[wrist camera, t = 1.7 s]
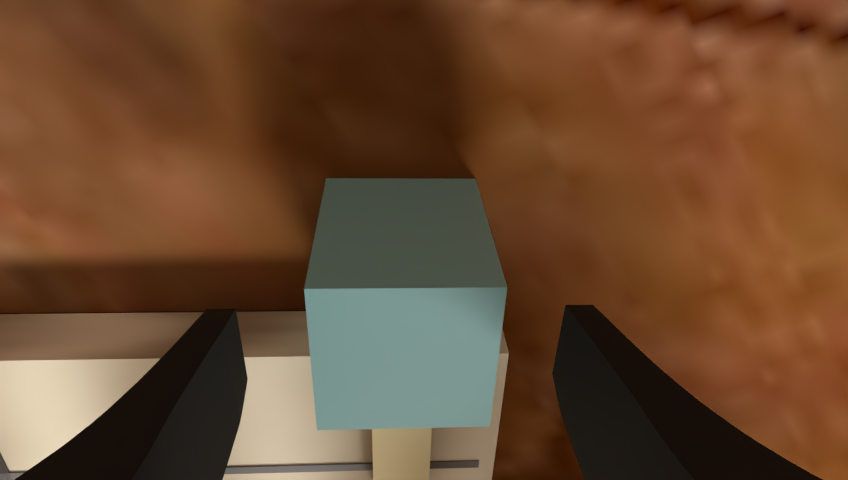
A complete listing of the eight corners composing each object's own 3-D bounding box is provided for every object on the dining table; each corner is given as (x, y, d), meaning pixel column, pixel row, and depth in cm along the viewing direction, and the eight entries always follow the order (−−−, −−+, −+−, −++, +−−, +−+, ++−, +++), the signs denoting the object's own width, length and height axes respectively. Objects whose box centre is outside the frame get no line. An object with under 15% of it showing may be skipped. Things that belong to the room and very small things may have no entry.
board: (497, 309, 18) (509, 354, 17) (475, 494, 23) (483, 545, 21) (-155, 315, 17) (-217, 365, 16) (-39, 509, 22) (-77, 565, 20)
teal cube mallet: (475, 178, 16) (507, 287, 12) (454, 432, 21) (471, 571, 17) (325, 177, 16) (303, 289, 12) (341, 434, 21) (330, 576, 17)
